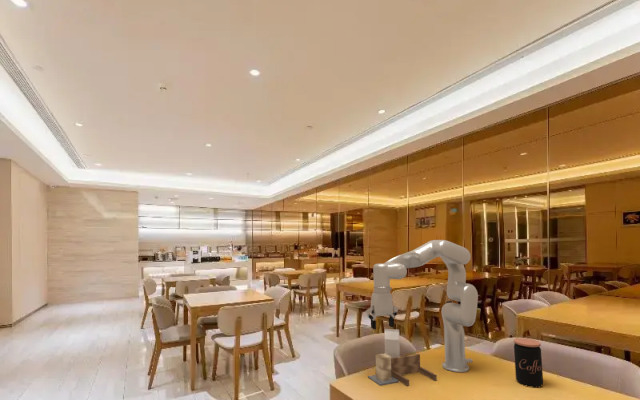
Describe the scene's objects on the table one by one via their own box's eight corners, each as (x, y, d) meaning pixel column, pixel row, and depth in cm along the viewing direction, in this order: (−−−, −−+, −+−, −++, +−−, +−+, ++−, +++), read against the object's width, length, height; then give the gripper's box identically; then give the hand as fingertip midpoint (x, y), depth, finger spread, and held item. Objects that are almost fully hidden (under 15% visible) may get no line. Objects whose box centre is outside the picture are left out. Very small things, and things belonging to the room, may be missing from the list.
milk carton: (400, 372, 168) (399, 331, 171) (385, 370, 170) (384, 330, 172) (399, 366, 175) (398, 327, 178) (385, 365, 177) (384, 327, 179)
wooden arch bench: (418, 371, 170) (418, 353, 171) (436, 380, 158) (436, 362, 159) (390, 375, 163) (390, 358, 164) (407, 386, 152) (406, 367, 153)
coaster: (386, 374, 165) (386, 373, 165) (398, 382, 156) (398, 380, 156) (368, 377, 161) (368, 376, 162) (379, 385, 152) (379, 384, 152)
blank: (385, 375, 162) (384, 353, 163) (391, 379, 158) (390, 356, 159) (376, 377, 160) (375, 354, 161) (382, 381, 156) (381, 357, 157)
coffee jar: (518, 385, 153) (515, 343, 155) (513, 377, 163) (511, 337, 165) (546, 389, 149) (543, 346, 151) (540, 380, 159) (537, 339, 161)
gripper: (392, 288, 170) (393, 324, 168) (361, 290, 164) (362, 327, 162) (401, 290, 163) (402, 327, 161) (370, 292, 157) (370, 331, 155)
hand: (382, 327), depth 162 cm, fingers open, 9 cm apart
